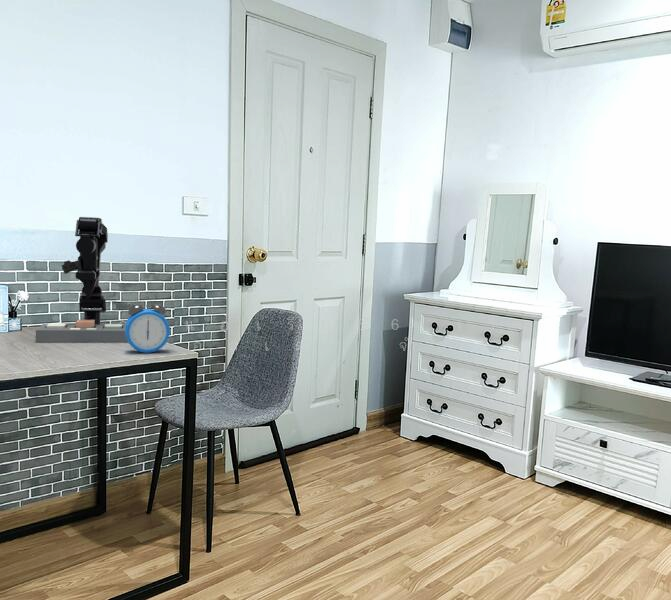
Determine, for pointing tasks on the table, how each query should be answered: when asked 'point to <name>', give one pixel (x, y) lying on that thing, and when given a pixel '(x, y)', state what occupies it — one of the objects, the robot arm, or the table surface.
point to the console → (81, 334)
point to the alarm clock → (147, 328)
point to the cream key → (56, 326)
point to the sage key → (113, 326)
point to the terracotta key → (85, 324)
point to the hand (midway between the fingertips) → (88, 297)
